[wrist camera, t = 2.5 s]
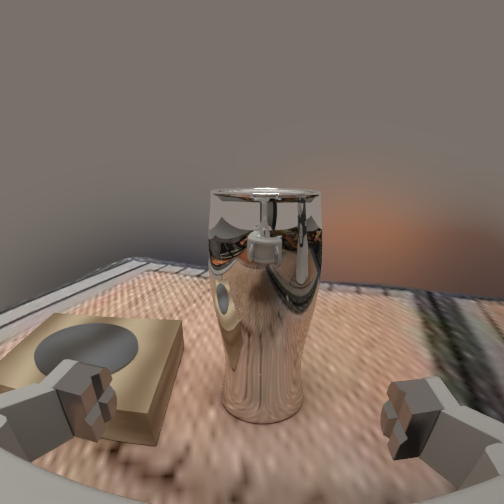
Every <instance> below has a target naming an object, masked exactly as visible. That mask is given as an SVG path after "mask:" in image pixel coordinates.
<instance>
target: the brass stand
mask: <svg viewBox="0 0 504 504" xmlns="http://www.w3.org/2000/svg"><path fill="white" fill-rule="evenodd" d="M183 351H184V340H183V329H182V320H160V319H135V318H116V317H99V316H85V315H72V314H60V313H54V314H53V315H51V316H50V317H49V318H48V319H47V320H45V321H44V322H43V323H42V324H41V325H40V326H38V327H37V328H36V329H35V330H34V331H33V332H32V333H30V334H29V335H28V336H27V337H26V338H25V339H24V340H23V341H21V342H20V343H19V344H18V345H17V346H16V347H15V348H14V349H12V350H11V351H10V352H9V353H8V354H7V355H6V356H5V357H4V358H3V359H2V360H0V394H2V393H5V392H8V391H12V390H15V389H18V388H21V387H24V386H27V385H31V384H34V383H37V384H39V383H40V382H41V381H42V380H43V379H44V378H45V377H46V376H48V375H49V374H50V373H51V372H52V371H53V370H54V369H55V368H56V367H57V366H58V365H59V364H60V363H61V362H62V361H63V360H65V359H70V360H74V361H79V362H83V363H88V364H92V365H97V366H101V367H106V368H108V369H109V370H110V372H111V376H112V379H113V380H112V381H111V383H110V386H111V387H112V388H113V389H114V390H115V392H116V396H117V408H116V412H115V415H114V416H113V418H112V420H110V421H108V422H105V427H106V430H105V431H104V433H103V435H102V436H101V438H104V439H109V440H115V441H121V442H128V443H135V444H142V445H151V446H156V444H157V441H158V437H159V433H160V430H161V426H162V423H163V419H164V415H165V412H166V408H167V405H168V401H169V398H170V395H171V391H172V388H173V384H174V381H175V377H176V374H177V371H178V367H179V364H180V361H181V357H182V354H183Z"/></svg>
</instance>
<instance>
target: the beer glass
mask: <svg viewBox="0 0 504 504" xmlns="http://www.w3.org/2000/svg"><path fill="white" fill-rule="evenodd" d="M208 263H209V278H210V286H211V292H212V298H213V303H214V308H215V312H216V317H217V321H218V325H219V329H220V333H221V337H222V342H223V347H224V352H225V376H224V382H223V388H222V402H223V405H224V407H225V408H226V410H227V411H228V412H229V413H231V414H232V415H233V416H235V417H237V418H239V419H241V420H244V421H247V422H252V423H261V424H265V423H274V422H278V421H282V420H284V419H287V418H289V417H291V416H292V415H293V414H295V413H296V412H297V411H298V410H299V408H300V407H301V405H302V402H303V386H302V379H301V360H302V353H303V349H304V345H305V341H306V337H307V334H308V330H309V327H310V323H311V320H312V316H313V312H314V308H315V304H316V300H317V295H318V290H319V285H320V277H321V267H322V266H321V265H322V215H321V192H320V191H315V190H306V189H291V188H290V189H289V188H228V189H216V190H212V191H211V205H210V218H209V235H208Z"/></svg>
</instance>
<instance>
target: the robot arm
mask: <svg viewBox="0 0 504 504" xmlns="http://www.w3.org/2000/svg"><path fill="white" fill-rule="evenodd" d="M112 380H113V379H112V376H111V372H110V370H109V369H108V368H106V367H101V366H97V365H92V364H88V363H83V362H79V361H74V360H70V359H65V360H63V361H62V362H61V363H60V364H59V365H58V366H57V367H56V368H55V369H54V370H53V371H52V372H51V373H50V374H49V375H48V376H46V377H45V378H44V379H43V380H42V381H41V382H40V383H39V384H37V383H34V384H31V385H27V386H24V387H21V388H18V389H15V390H12V391H8V392H5V393H2V394H0V504H151V503H146V502H142V501H138V500H134V499H130V498H126V497H123V496H119V495H115V494H112V493H109V492H105V491H102V490H99V489H96V488H93V487H90V486H87V485H84V484H81V483H78V482H76V481H73V480H70V479H68V478H65V477H63V476H60V475H58V474H55V473H53V472H50V471H48V470H46V469H43V468H41V467H39V466H37V465H35V464H32V463H31V462H32V461H34V460H36V459H37V458H39V457H41V456H43V455H44V454H46V453H48V452H50V451H51V450H53V449H55V448H57V447H58V446H60V445H62V444H64V443H65V442H67V441H69V440H70V439H72V438H74V436H75V437H78V438H82V439H86V440H89V441H93V442H97V443H98V441H99V439H100V438H101V436H102V435H103V433H104V431H105V430H106V427H105V422H108V421H110V420H112V418H113V416H114V415H115V412H116V408H117V396H116V392H115V390H114V389H113V388H112V387H111V386H110V383H111V381H112ZM387 395H388V397H389V400H388V401H387V402H386V403H385V404H384V405H383V408H382V411H381V421H380V423H381V429H382V432H383V435H385V436H386V437H388V438H389V442H388V444H387V445H388V448H389V451H390V453H391V456H392V459H393V460H401V459H408V458H414V457H419V458H420V459H421V460H423V461H424V462H425V463H426V464H428V465H429V466H430V467H431V468H433V469H434V470H435V471H436V472H438V473H439V474H440V475H441V476H443V477H444V478H445V479H447V480H448V481H449V482H450V483H452V484H453V485H454V486H456V487H457V488H458V489H459V490H458V491H455V492H452V493H449V494H446V495H442V496H439V497H435V498H431V499H427V500H424V501H419V502H415V503H411V504H504V424H503V423H501V422H499V421H497V420H494V419H492V418H490V417H488V416H486V415H484V414H481V413H479V412H477V411H475V410H473V409H471V408H468V407H466V406H460V405H459V404H458V402H457V401H456V400H455V398H454V397H453V395H452V394H451V393H450V391H449V390H448V389H447V387H446V386H445V384H444V383H443V382H442V380H441V379H440V378H439V377H437V376H434V377H428V378H422V379H417V380H408V381H398V382H391V384H390V385H389V387H388V391H387Z"/></svg>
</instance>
